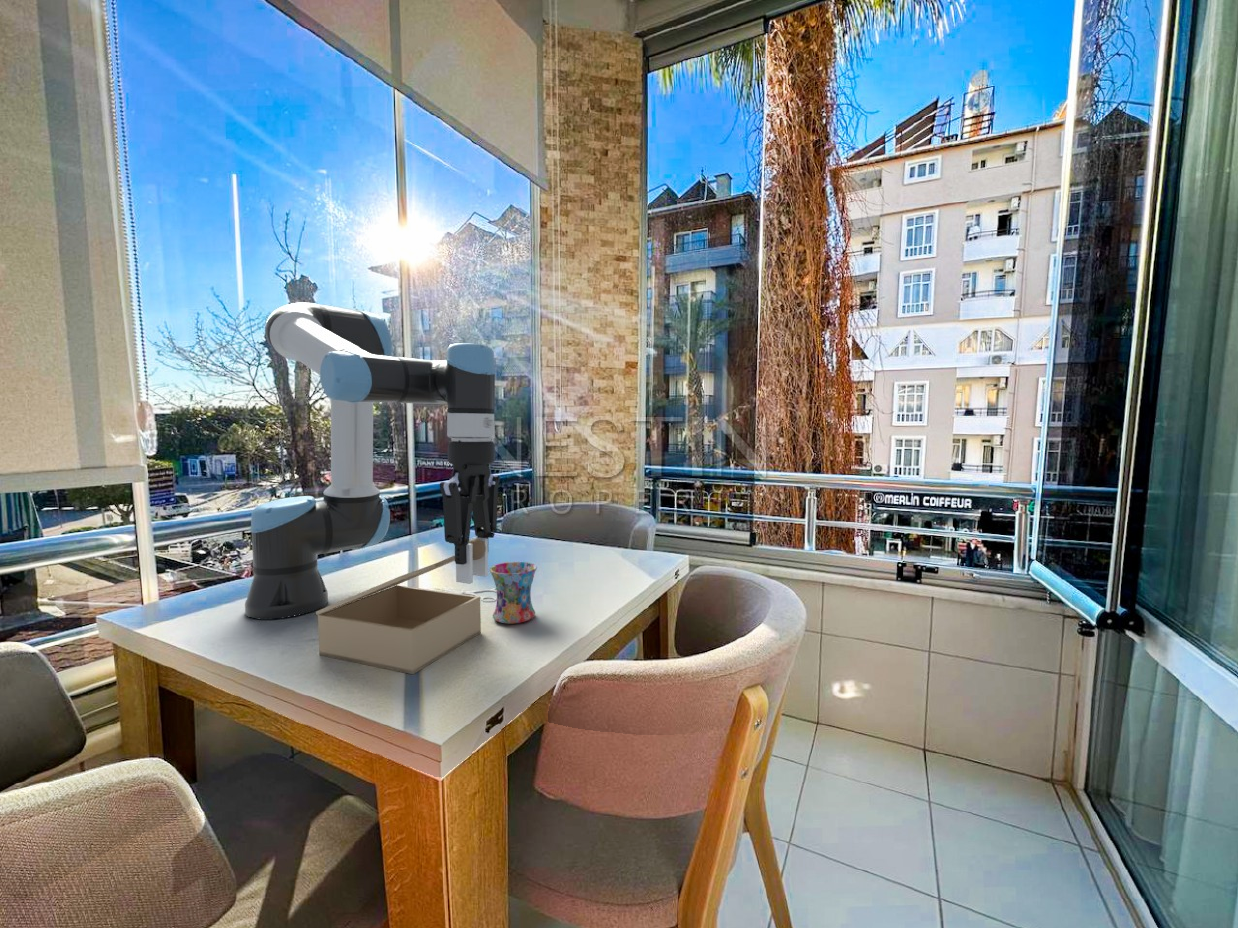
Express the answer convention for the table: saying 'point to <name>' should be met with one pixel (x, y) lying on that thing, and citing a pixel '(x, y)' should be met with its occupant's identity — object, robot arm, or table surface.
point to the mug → (513, 591)
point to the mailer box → (399, 628)
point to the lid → (409, 575)
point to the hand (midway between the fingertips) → (472, 578)
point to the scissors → (474, 593)
